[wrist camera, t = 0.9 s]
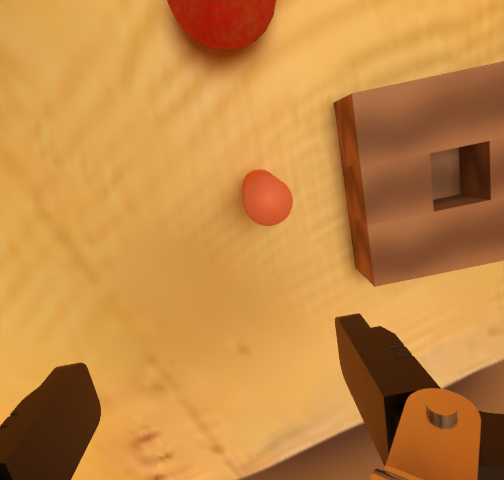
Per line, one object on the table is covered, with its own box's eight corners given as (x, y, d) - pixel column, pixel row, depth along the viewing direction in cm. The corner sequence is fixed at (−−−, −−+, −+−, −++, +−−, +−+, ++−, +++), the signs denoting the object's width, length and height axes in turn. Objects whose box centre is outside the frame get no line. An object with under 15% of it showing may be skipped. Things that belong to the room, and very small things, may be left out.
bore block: (334, 102, 31) (351, 93, 26) (510, 65, 30) (561, 49, 26) (355, 267, 35) (374, 286, 30) (511, 235, 34) (556, 249, 30)
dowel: (239, 173, 32) (240, 183, 22) (273, 166, 32) (288, 173, 22) (246, 206, 33) (249, 230, 23) (279, 199, 33) (296, 220, 23)
